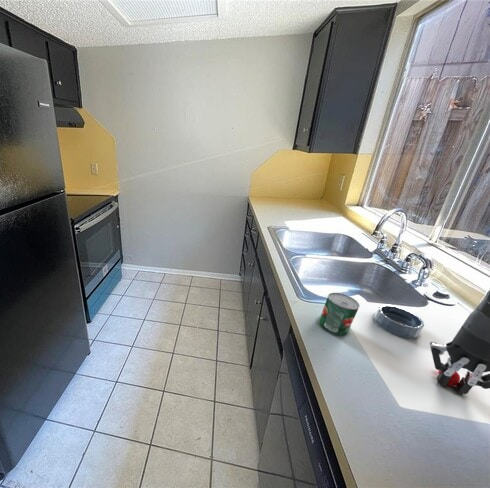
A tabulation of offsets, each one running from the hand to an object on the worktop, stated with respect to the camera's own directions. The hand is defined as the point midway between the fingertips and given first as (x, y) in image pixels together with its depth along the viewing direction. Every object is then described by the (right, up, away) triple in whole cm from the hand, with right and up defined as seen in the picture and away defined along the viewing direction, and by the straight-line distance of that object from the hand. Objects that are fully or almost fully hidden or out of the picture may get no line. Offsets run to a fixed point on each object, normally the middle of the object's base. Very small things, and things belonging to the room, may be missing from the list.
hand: (449, 387), depth 62 cm
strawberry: (+1, +1, 0) cm, 1 cm away
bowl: (+4, +8, +20) cm, 22 cm away
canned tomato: (-16, +8, +18) cm, 26 cm away
